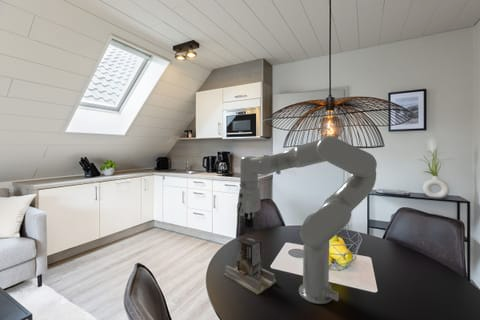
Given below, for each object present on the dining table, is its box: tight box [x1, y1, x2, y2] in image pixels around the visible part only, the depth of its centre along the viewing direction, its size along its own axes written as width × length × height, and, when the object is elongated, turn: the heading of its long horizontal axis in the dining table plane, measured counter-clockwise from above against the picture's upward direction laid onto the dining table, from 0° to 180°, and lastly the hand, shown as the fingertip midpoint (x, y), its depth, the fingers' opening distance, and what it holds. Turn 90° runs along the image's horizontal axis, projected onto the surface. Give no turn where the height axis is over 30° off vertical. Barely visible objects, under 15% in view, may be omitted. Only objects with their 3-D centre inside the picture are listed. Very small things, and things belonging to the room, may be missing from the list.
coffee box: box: [236, 236, 262, 280], centre depth 104 cm, size 9×6×16 cm
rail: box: [223, 264, 277, 295], centre depth 104 cm, size 12×20×5 cm, turn 45°
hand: (248, 227), depth 103 cm, fingers closed
